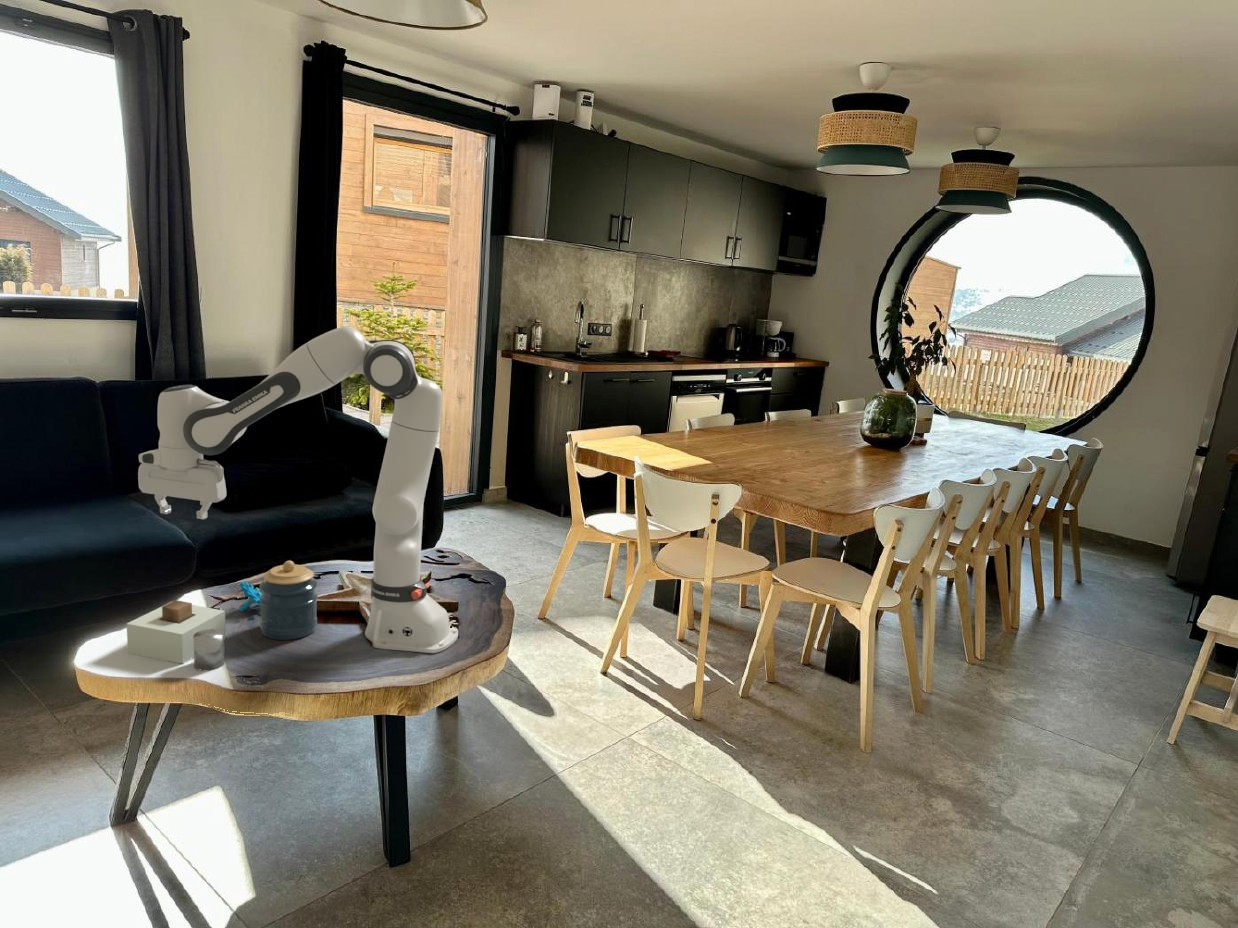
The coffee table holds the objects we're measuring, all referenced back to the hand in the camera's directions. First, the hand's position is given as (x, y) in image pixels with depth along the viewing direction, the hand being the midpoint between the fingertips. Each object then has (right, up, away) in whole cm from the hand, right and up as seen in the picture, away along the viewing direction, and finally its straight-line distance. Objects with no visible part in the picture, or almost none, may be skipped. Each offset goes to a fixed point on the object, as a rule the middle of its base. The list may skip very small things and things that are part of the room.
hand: (183, 515), depth 192 cm
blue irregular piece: (+7, -26, +22) cm, 35 cm away
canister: (+19, -29, +13) cm, 37 cm away
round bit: (+10, -32, -8) cm, 34 cm away
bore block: (-1, -30, 0) cm, 30 cm away
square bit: (-1, -30, -1) cm, 30 cm away
